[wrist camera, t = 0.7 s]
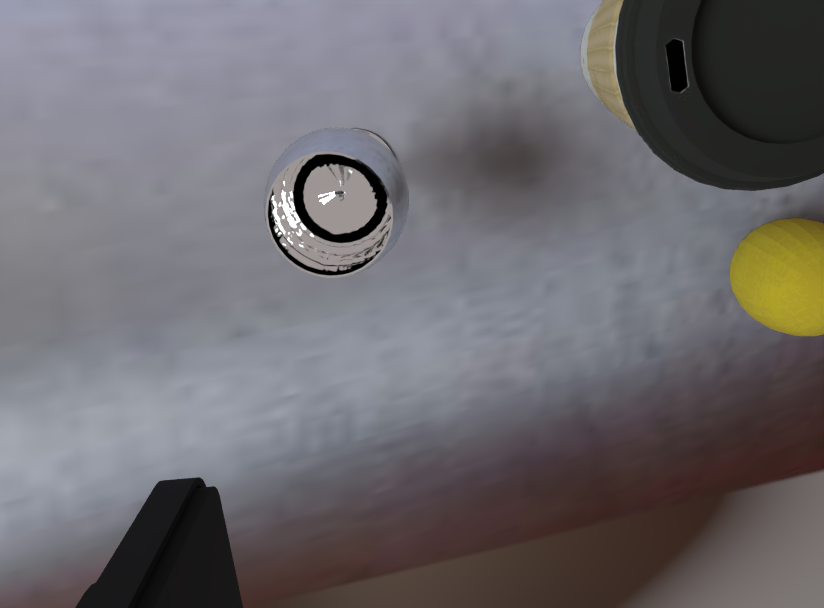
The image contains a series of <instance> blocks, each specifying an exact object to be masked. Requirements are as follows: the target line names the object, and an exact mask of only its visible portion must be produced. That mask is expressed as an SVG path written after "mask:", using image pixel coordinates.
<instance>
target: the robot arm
mask: <svg viewBox="0 0 824 608" xmlns="http://www.w3.org/2000/svg"><path fill="white" fill-rule="evenodd" d="M76 608H243V605H242V600H241V596H240V591H239V586H238V581H237V577H236V572H235V567H234V562H233V557H232V553H231V548H230V543H229V538H228V534H227V529H226V524H225V519H224V514H223V510H222V505H221V500H220V496H219V492H218V490H217V488H216V487H206V485H205V483H204V481H203V479H201V478H200V477H199V478H187V479H175V480H164V481H159V482H158V483H157V484H156V486H155V487H154V489H153V491H152V492H151V494H150V495H149V497H148V499H147V500H146V502H145V504H144V505H143V507H142V509H141V510H140V512H139V513H138V515H137V517H136V518H135V520H134V522H133V523H132V525H131V527H130V528H129V530H128V531H127V533H126V535H125V536H124V538H123V540H122V541H121V543H120V545H119V546H118V548H117V549H116V551H115V553H114V554H113V556H112V558H111V559H110V561H109V563H108V564H107V566H106V567H105V569H104V571H103V572H102V574H101V576H100V577H99V579H98V581H97V582H96V583H94V584H92V585H91V586H90V587H89V588H88V590H87V591H86V592H85V593H84V595H83V596H82V598H81V600H80V601H79V603H78V604H77V606H76Z"/></svg>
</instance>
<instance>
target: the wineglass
mask: <svg viewBox="0 0 824 608" xmlns="http://www.w3.org/2000/svg"><path fill="white" fill-rule="evenodd" d="M408 211H409V190H408V184H407V181H406V177H405V174H404V172H403V170H402V168H401V166H400V164H399V162H398V161H397V159H396V158H395V156H394V155H393V153H392V151H391V150H390V148H389V146H388V145H387V144H386V143H385V142H384V141H383V140H382V139H381V138H380V137H378V136H377V135H375V134H373V133H371V132H369V131H366V130H362V129H348V128H339V127H335V128H325V129H320V130H316V131H313V132H311V133H308V134H306V135H304V136H302V137H300V138H299V139H298V140H296V141H295V142H293V143H292V144H291V145H290V146H289V147H287V148H286V149H285V150H284V152H283V153H282V154H281V155H280V157H279V158H278V159H277V160H276V162H275V164H274V166H273V168H272V170H271V172H270V174H269V177H268V180H267V184H266V188H265V194H264V216H265V221H266V225H267V229H268V232H269V234H270V237H271V239H272V241H273V243H274V245H275V246H276V248H277V249H278V251H279V252H280V254H281V255H282V256H284V257H285V258H286V259H287V260H288V261H289V262H290V263H291V264H292V265H294V266H295V267H297V268H299V269H300V270H302V271H304V272H307V273H309V274H312V275H315V276H319V277H325V278H337V277H344V276H348V275H352V274H355V273H358V272H361V271H363V270H366V269H368V268H370V267H371V266H373V265H374V264H376V263H377V262H379V261H380V260H381V259H382V258H383V257H384V256H385V255H386V254H387V253H388V252H389V251H390V250H391V249H392V248H393V247H394V246H395V244H396V242H397V241H398V239H399V237H400V235H401V234H402V232H403V230H404V227H405V224H406V221H407V217H408Z"/></svg>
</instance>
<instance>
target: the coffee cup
mask: <svg viewBox="0 0 824 608" xmlns="http://www.w3.org/2000/svg"><path fill="white" fill-rule="evenodd" d="M580 55H581V67H582V71H583V74H584V78H585V80H586V82H587V84H588V86H589V88H590V90H591V91H592V92H593V93H594V95H595V96H596V97H597V98H598V99H599V100H600V101H601V102H603V103H604V105H605V106H606V107H607V109H608V110H609V111H611V112H612V113H613V114H614V115H616V116H617V117H618V118H619V119H620V120H622V121H623V122H624V123H626V124H627V125H628V126H630V127H631V128H632V129H634V130H635V131H636V132H637V133H638V134H639V135H640V136H641V138H642V139H643V140H644V141H645V143H646V144H647V145H648V146H649V148H650V149H651V150H652V152H653V153H654V154H656V155H657V156H658V157H659V158H660V159H662V160H663V161H664V162H665V163H666V164H668V165H669V166H670V167H671V168H673V169H674V170H675V171H677V172H679V173H681V174H683V175H685V176H687V177H689V178H691V179H693V180H695V181H697V182H699V183H703V184H707V185H711V186H715V187H718V188H722V189H730V190H749V191H756V190H765V189H772V188H779V187H786V186H790V185H793V184H796V183H799V182H802V181H805V180H808V179H811V178H814V177H817V176H819V175H821V174H823V173H824V0H603V1H602V3H601V5H600V6H599V7H598V8H597V10H596V11H595V12H594V14H593V15H592V17H591V18H590V20H589V22H588V24H587V26H586V29H585V32H584V35H583V38H582V44H581V52H580Z"/></svg>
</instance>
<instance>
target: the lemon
mask: <svg viewBox="0 0 824 608" xmlns="http://www.w3.org/2000/svg"><path fill="white" fill-rule="evenodd" d="M730 281H731V286H732V290H733V292H734V294H735V296H736V298H737V300H738V302H739V303H740V305H741V306H742V307H743V308H744V309H745V310H746V311H747V312H748V314H749V315H750V316H751V317H753V318H754V319H755V320H757V321H759V322H760V323H762V324H764V325H765V326H767V327H769V328H771V329H773V330H776V331H780V332H783V333H787V334H791V335H796V336H818V335H823V334H824V224H823V223H821V222H818V221H813V220H807V219H801V218H789V219H780V220H775V221H772V222H769V223H767V224H764V225H761V226H760V227H758V228H757V229H755V230H753V231H752V232H750V233H749V234H748V235H747V236H746V237H745V238H744V239H743V240H742V241H741V243H740V244H739V246H738V247H737V249H736V250H735V252H734V255H733V258H732V261H731V265H730Z"/></svg>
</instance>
